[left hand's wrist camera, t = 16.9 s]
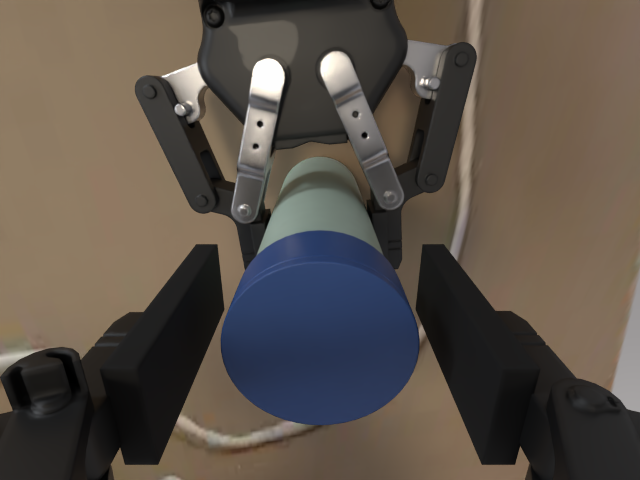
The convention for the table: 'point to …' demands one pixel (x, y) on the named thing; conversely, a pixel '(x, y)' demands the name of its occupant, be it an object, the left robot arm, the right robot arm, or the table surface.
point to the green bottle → (320, 203)
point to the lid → (320, 330)
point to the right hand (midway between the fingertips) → (325, 277)
